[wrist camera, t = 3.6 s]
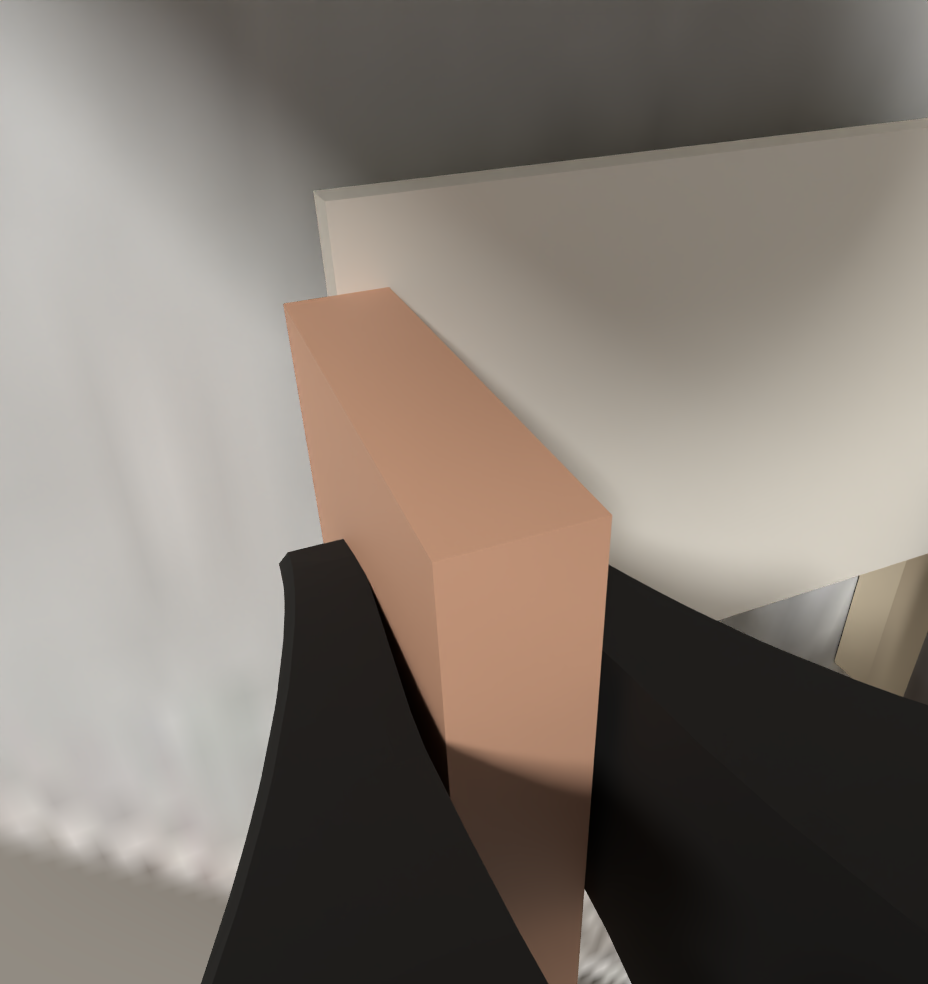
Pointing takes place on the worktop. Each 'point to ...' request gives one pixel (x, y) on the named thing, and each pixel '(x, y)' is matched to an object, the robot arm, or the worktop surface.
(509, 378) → the beige angled piece
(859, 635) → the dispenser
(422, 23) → the worktop surface
